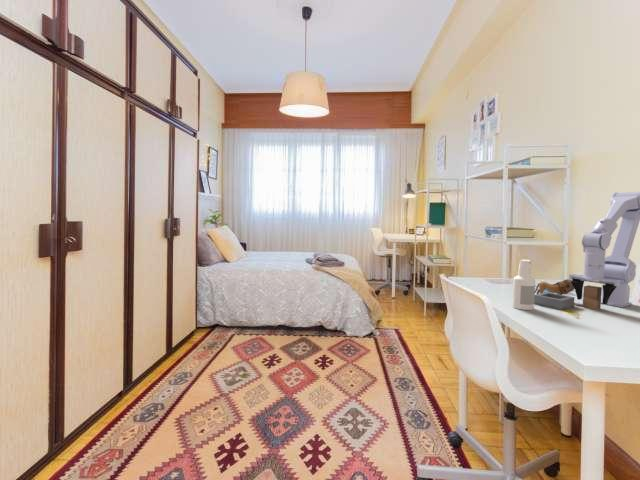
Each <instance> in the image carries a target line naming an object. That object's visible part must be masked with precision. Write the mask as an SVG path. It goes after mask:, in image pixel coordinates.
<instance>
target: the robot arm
mask: <svg viewBox="0 0 640 480" xmlns="http://www.w3.org/2000/svg"><path fill="white" fill-rule="evenodd" d="M609 201H610V208H609V209H608V212H606V216H605V217H603V218H600V219H599V220H598V221H597V222H596V224H595V225H594V227H593V228H592V230H591V231H590V232H588V233H586V234H584V235H583V237H582V240H581V245H582V250H583V253H584V262H583V266H584V267H583V274H576V273H569V276H568V279H569V280H572V281H571V283H572V285H573V287H574V292H575V294H576V299H577V300H583V291H584V284H585V282H588V283H596V284H602V286H601V287H602V293H601V304H602V305H609V306H614V307H619V308H625V307H628V306H631V305H632V304H633V302H630V295H631V294H630V290H631V288H630V285H629V284H630V283H632V282H633V281H634V279H635V277H636V268H637V265H636V263H635V262H634V261H632V259H630V258H629V256H630V255H631V250H632V247H633V243H634V241H635V237H636V235H637V230H638V227H639V224H640V191H632V192H631V191H629V192H628V191H627V192H613V194H612V195H611V197H610V199H609ZM621 218H622V219H621ZM619 219H621V221H620V225H618V223H617V222H618V221H619ZM618 226H619V228H618ZM617 228H618V232H617V235H616V237H615V241H614V245H613V248H612V252H611V254H610V255H609V256H606V251H607V249H608V248H609V247H610V245H611V240H612V235H613V234H614V232H615V231H616V229H617Z"/></svg>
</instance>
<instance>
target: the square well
mask: <svg viewBox="0 0 640 480" xmlns="http://www.w3.org/2000/svg"><path fill="white" fill-rule="evenodd" d="M536 294H537V293H536ZM536 294H535V296H534V305H538V306H541V307H546V308H551V309H555V310H560V311H563V310H567V309H570V308H573V307H575V296H569V295H566V294H562V295H559V294H557V293H551V292H549V291H546V292H543V293H541V294H540V293H539V294H537V295H536Z"/></svg>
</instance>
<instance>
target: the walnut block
mask: <svg viewBox="0 0 640 480" xmlns="http://www.w3.org/2000/svg"><path fill="white" fill-rule="evenodd" d="M601 299H602V286H595V285H590V284H588V285H583V292H582V308H583V307H584V308H583V309H589V310H593V311H597V309H598V310H600V309H601V307H602V306H601V304H602V303H601Z"/></svg>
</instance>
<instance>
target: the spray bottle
mask: <svg viewBox="0 0 640 480" xmlns="http://www.w3.org/2000/svg"><path fill="white" fill-rule="evenodd" d="M531 262H532V261H531V260H530V259H520V260H519V264H518V272H517V275H516V276H514V277H513V282H512V283H513V284H512V285H513V286H512V302H511V303H512V305H511V306H512V307H513V308H514V309H517V310H522V311H532V310H534V309H535V304H534V296H535V295H536V293H535V290H536V279H535V278H534V277H532V265H531Z"/></svg>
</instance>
